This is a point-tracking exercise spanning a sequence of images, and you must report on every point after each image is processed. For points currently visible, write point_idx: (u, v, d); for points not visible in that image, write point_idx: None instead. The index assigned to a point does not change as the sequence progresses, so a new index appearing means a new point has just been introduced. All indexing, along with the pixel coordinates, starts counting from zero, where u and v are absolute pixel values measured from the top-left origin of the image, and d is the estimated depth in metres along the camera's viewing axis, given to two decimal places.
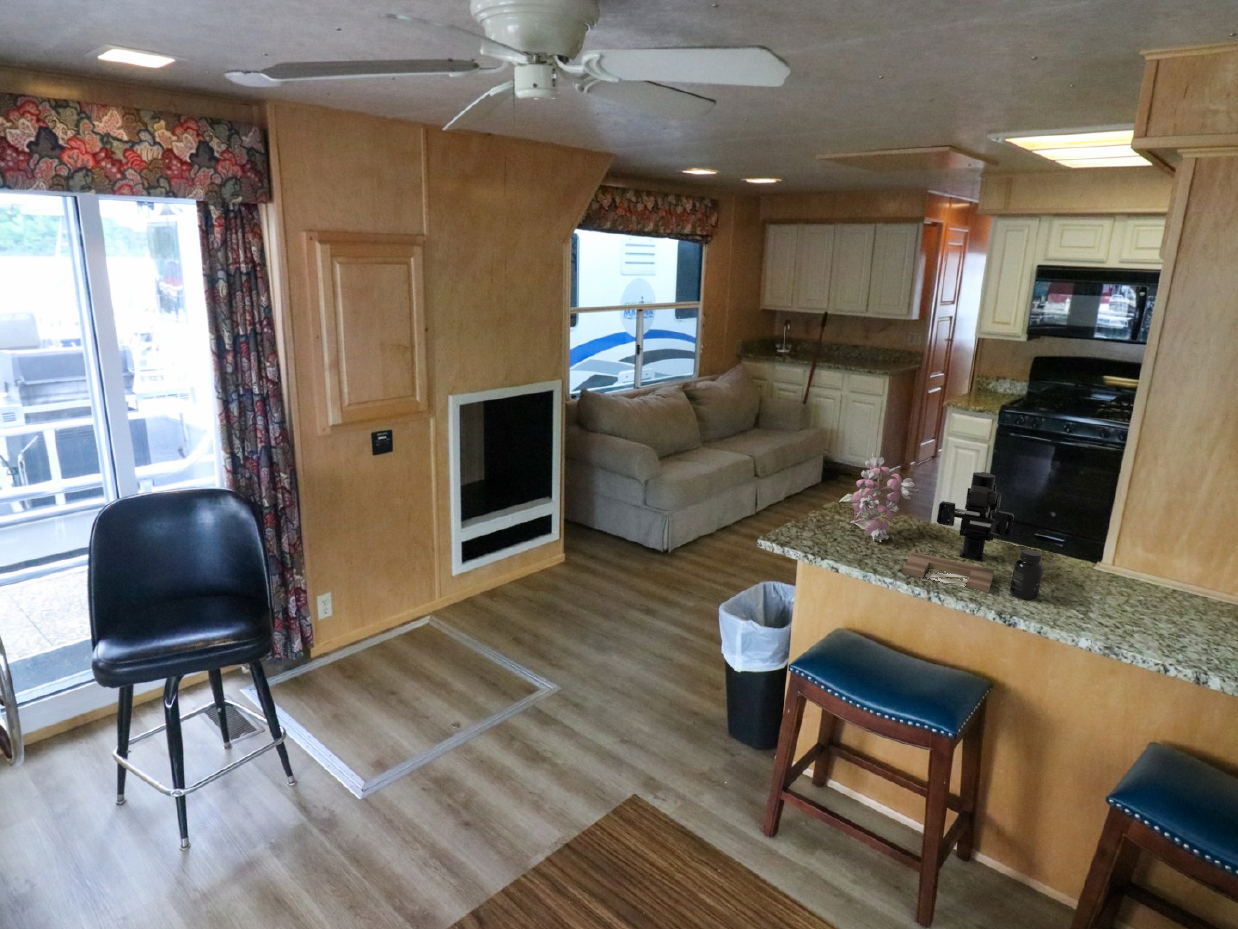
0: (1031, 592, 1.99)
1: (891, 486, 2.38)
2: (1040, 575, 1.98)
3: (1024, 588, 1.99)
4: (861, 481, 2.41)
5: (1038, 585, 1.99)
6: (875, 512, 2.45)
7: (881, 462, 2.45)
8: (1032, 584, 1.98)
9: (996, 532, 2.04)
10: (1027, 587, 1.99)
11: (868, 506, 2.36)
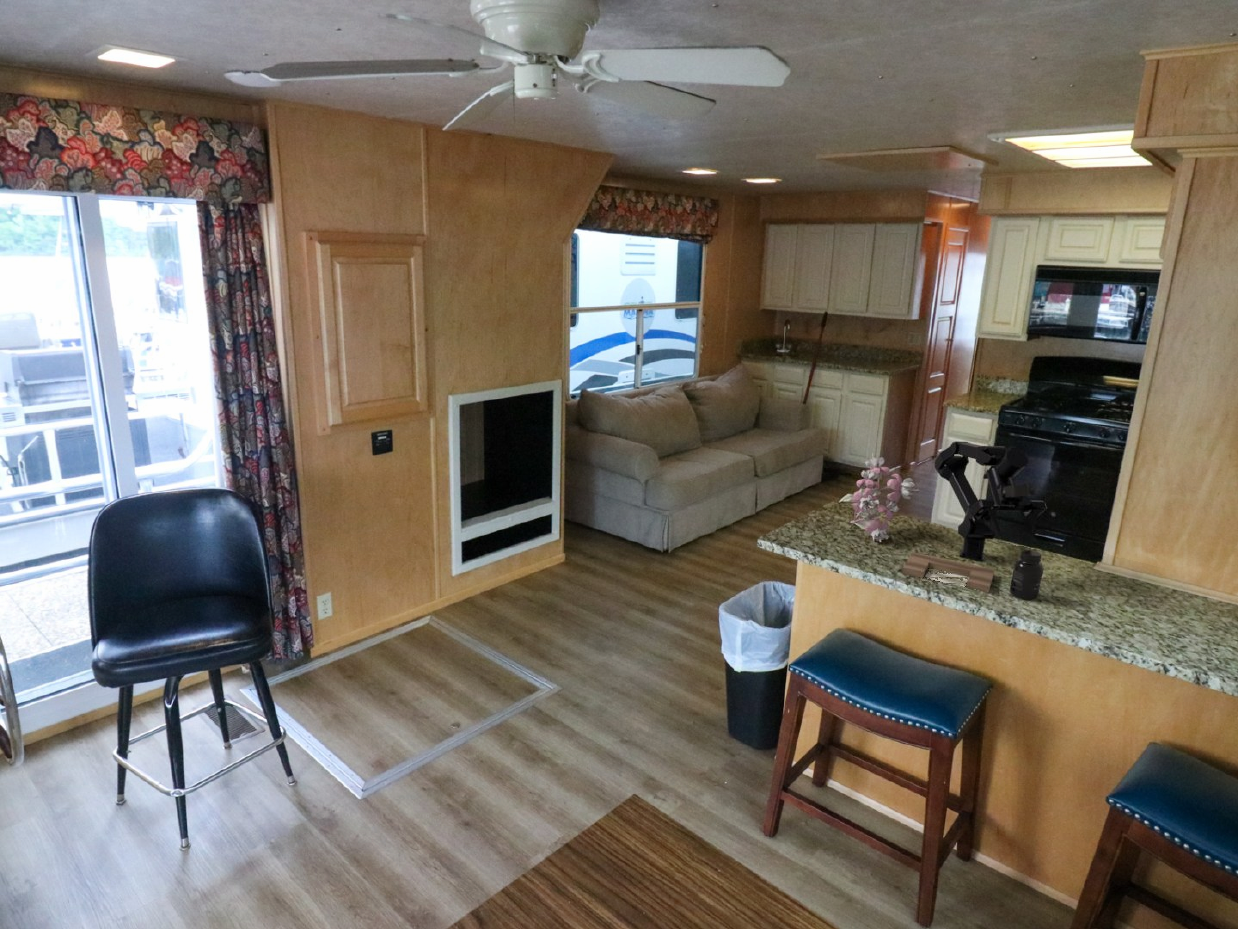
0: (1031, 592, 1.99)
1: (891, 486, 2.38)
2: (1040, 575, 1.98)
3: (1024, 588, 1.99)
4: (861, 481, 2.41)
5: (1038, 585, 1.99)
6: (875, 512, 2.45)
7: (881, 462, 2.45)
8: (1032, 584, 1.98)
9: None
10: (1027, 587, 1.99)
11: (868, 506, 2.36)
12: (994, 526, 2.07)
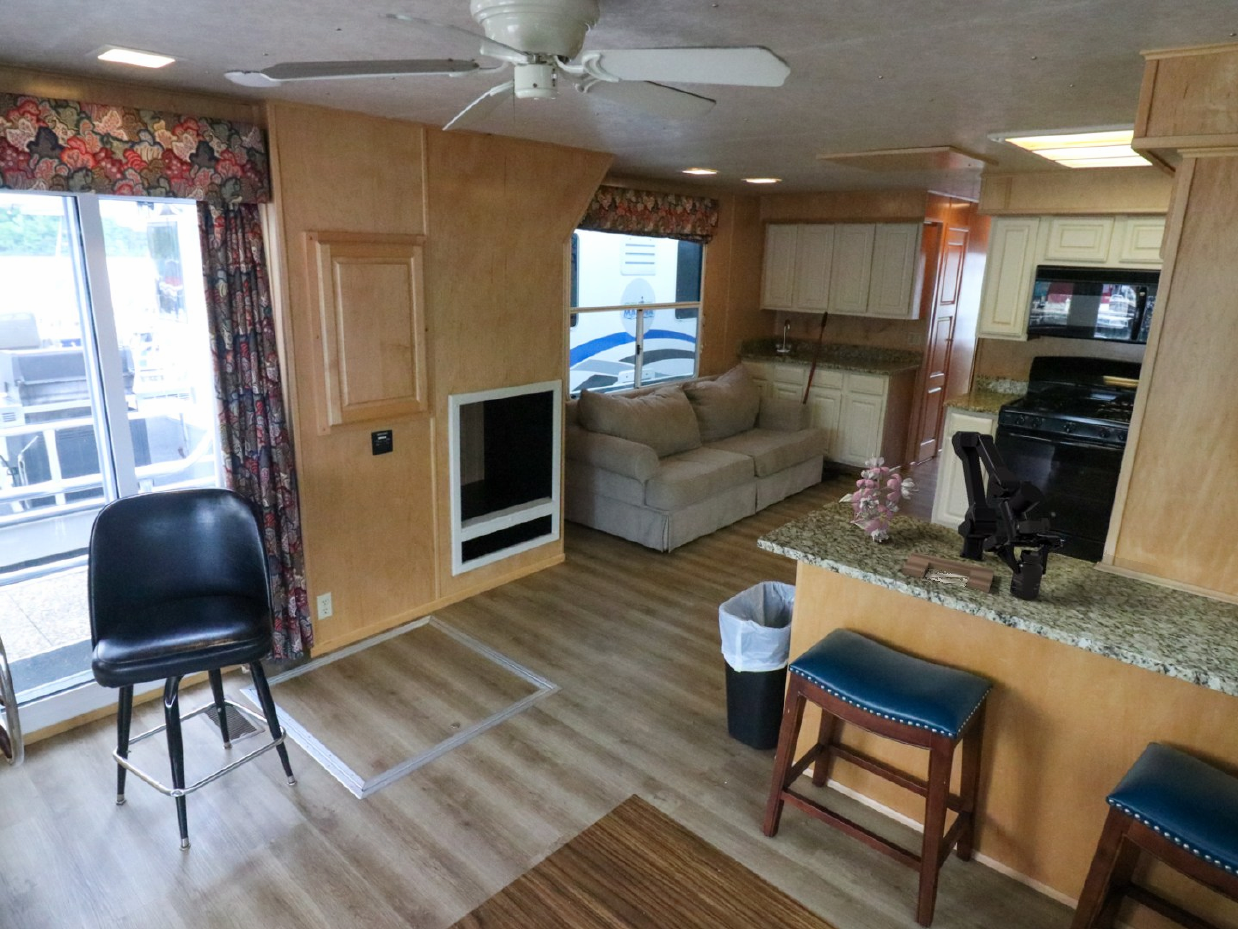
0: (1031, 592, 1.99)
1: (891, 486, 2.38)
2: (1040, 575, 1.98)
3: (1024, 588, 1.99)
4: (861, 481, 2.41)
5: (1038, 585, 1.99)
6: (875, 512, 2.45)
7: (881, 462, 2.45)
8: (1032, 584, 1.98)
9: None
10: (1027, 587, 1.99)
11: (868, 506, 2.36)
12: (1012, 563, 2.00)
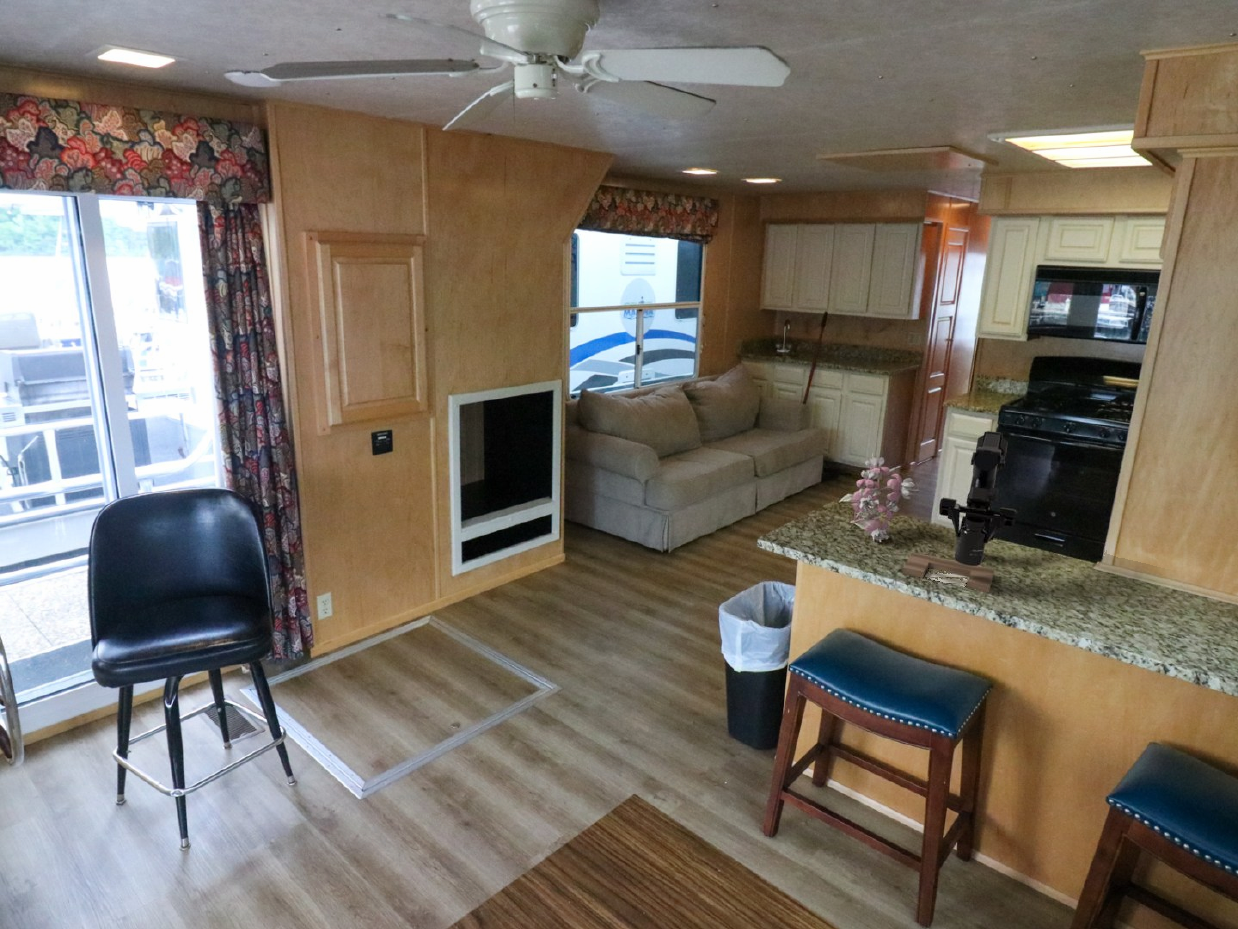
0: (967, 557, 2.03)
1: (891, 486, 2.38)
2: (977, 542, 2.01)
3: (960, 552, 2.04)
4: (861, 481, 2.41)
5: (975, 552, 2.02)
6: (875, 512, 2.45)
7: (881, 462, 2.45)
8: (967, 549, 2.02)
9: (994, 532, 2.04)
10: (963, 552, 2.03)
11: (868, 506, 2.36)
12: (955, 526, 2.06)
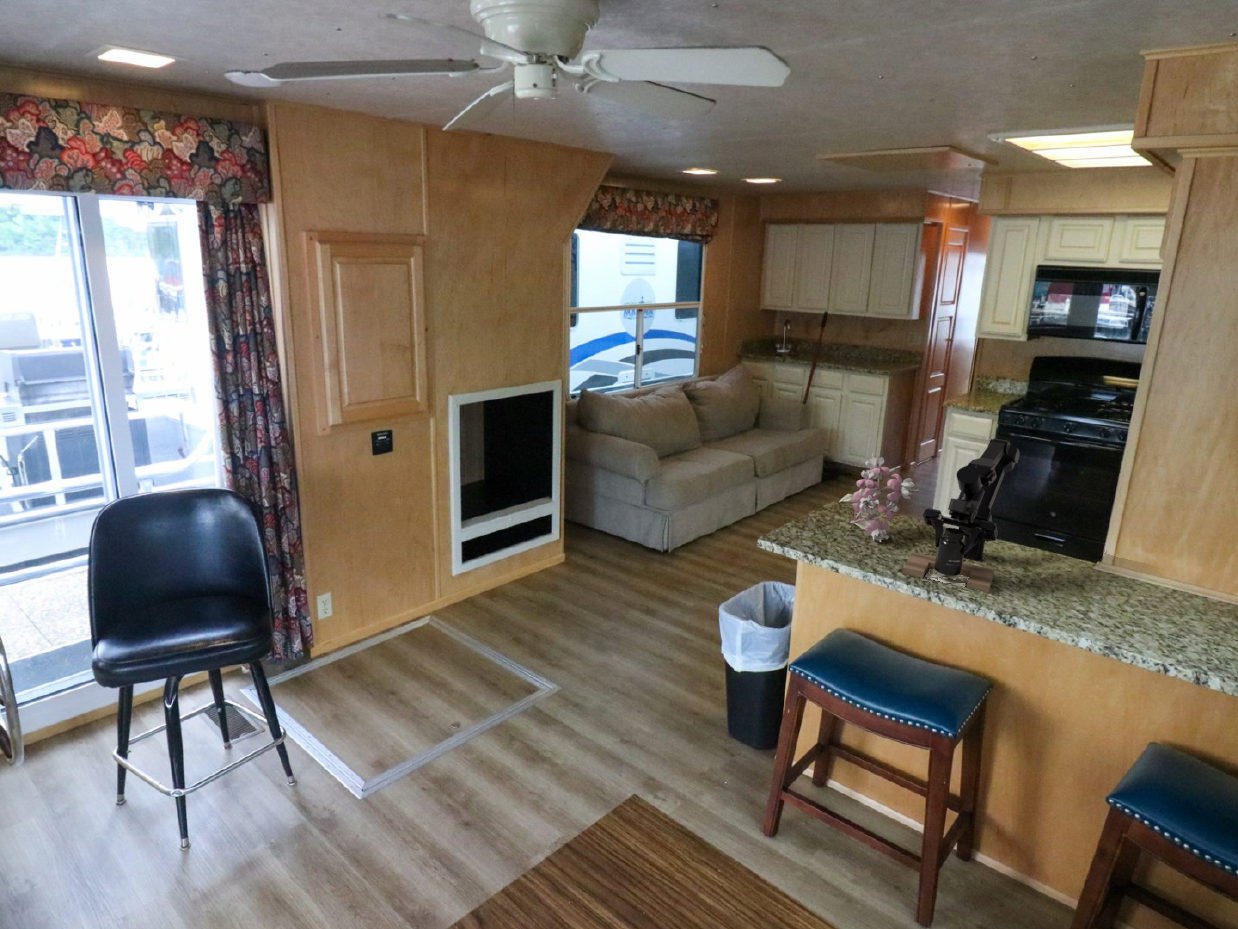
0: (944, 567, 2.08)
1: (891, 486, 2.38)
2: (953, 552, 2.06)
3: (938, 561, 2.09)
4: (861, 481, 2.41)
5: (952, 562, 2.07)
6: (875, 512, 2.45)
7: (881, 462, 2.45)
8: (944, 559, 2.07)
9: (974, 545, 2.07)
10: (940, 561, 2.08)
11: (868, 506, 2.36)
12: None
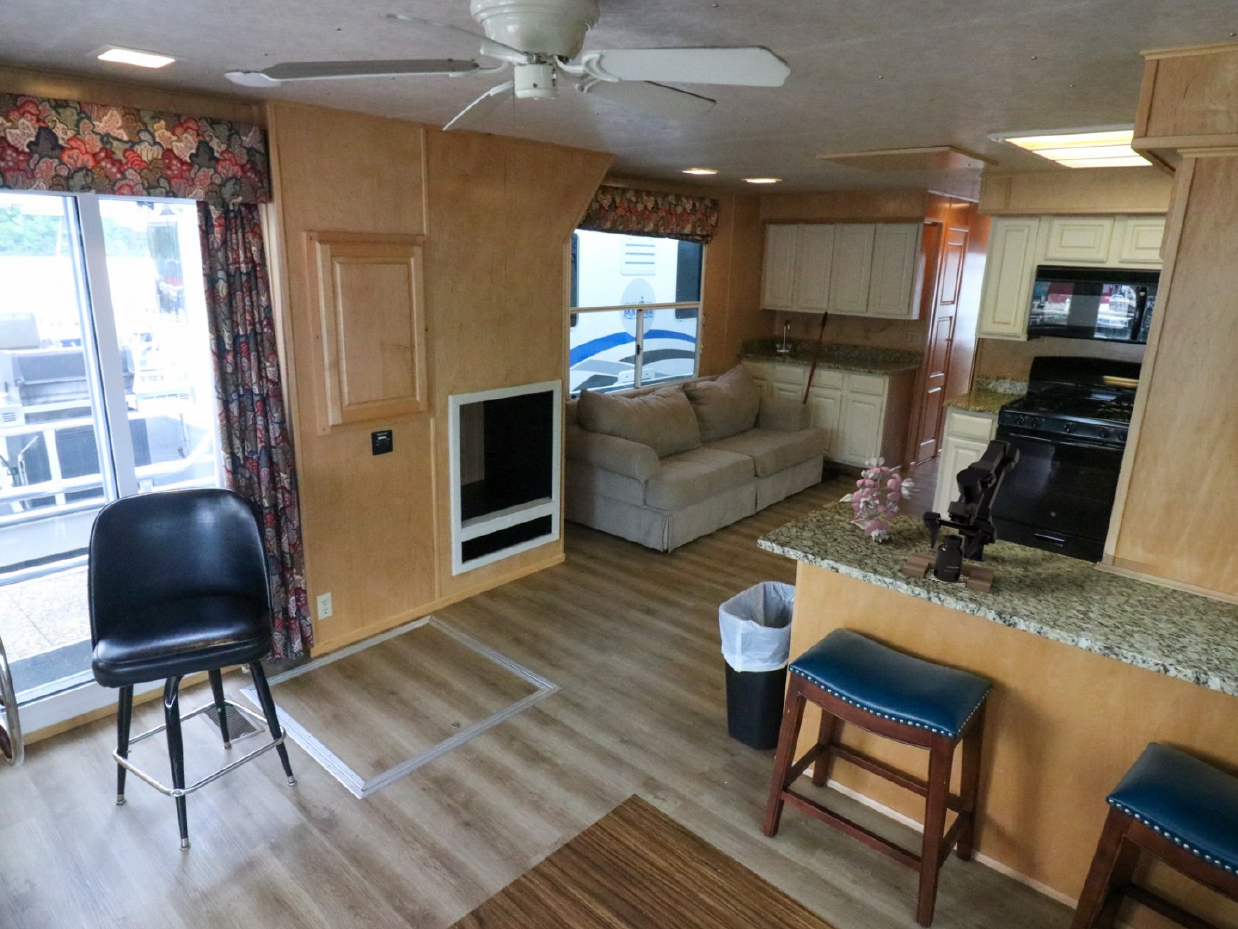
0: (942, 573, 2.08)
1: (891, 486, 2.38)
2: (952, 558, 2.06)
3: (937, 567, 2.10)
4: (861, 481, 2.41)
5: (950, 568, 2.07)
6: (875, 512, 2.45)
7: (881, 462, 2.45)
8: (943, 565, 2.08)
9: (977, 548, 2.07)
10: (939, 567, 2.09)
11: (868, 506, 2.36)
12: (931, 538, 2.12)
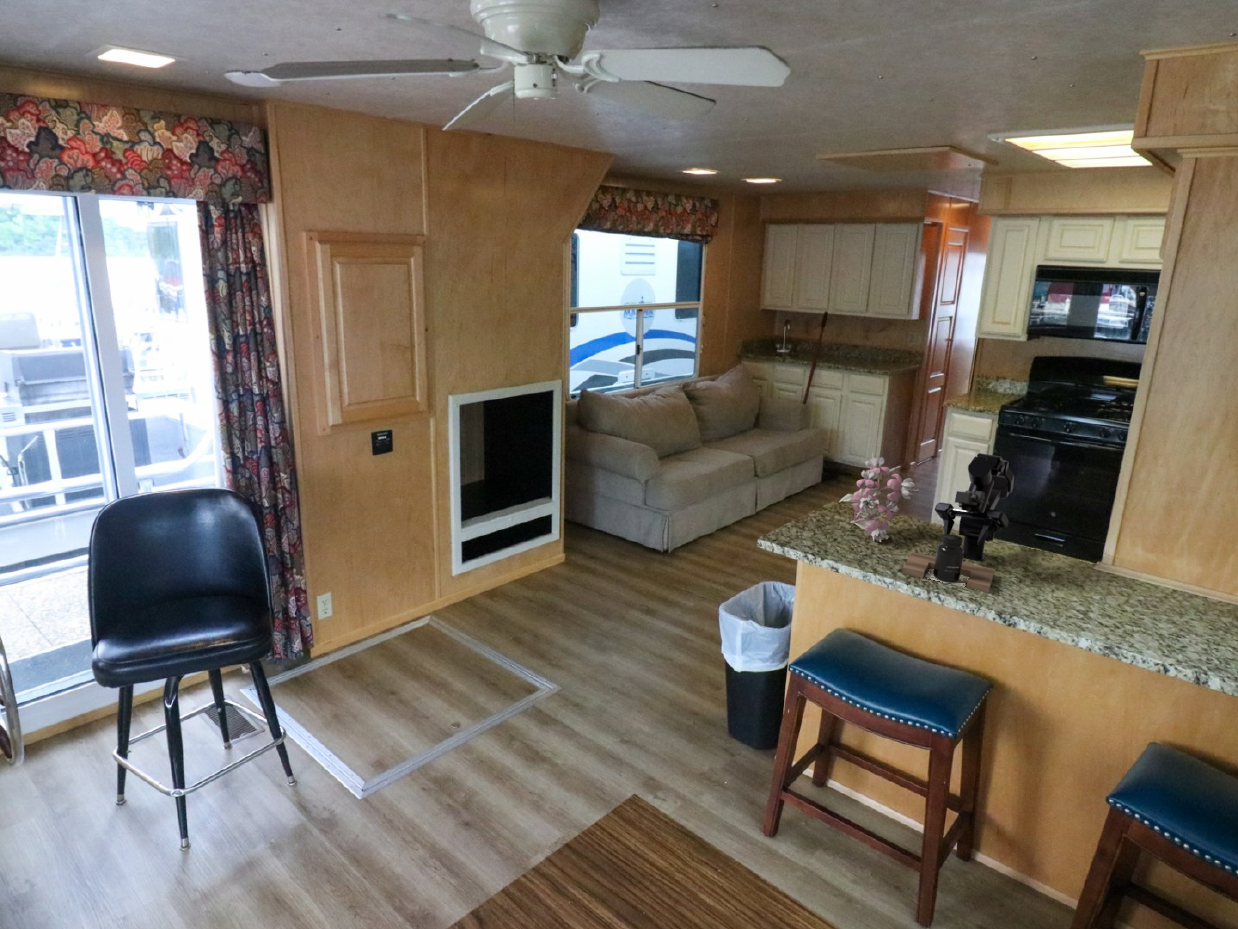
0: (942, 573, 2.08)
1: (891, 486, 2.38)
2: (952, 558, 2.06)
3: (936, 567, 2.10)
4: (861, 481, 2.41)
5: (950, 568, 2.07)
6: (875, 512, 2.45)
7: (881, 462, 2.45)
8: (943, 565, 2.08)
9: (989, 534, 2.13)
10: (939, 567, 2.09)
11: (868, 506, 2.36)
12: None
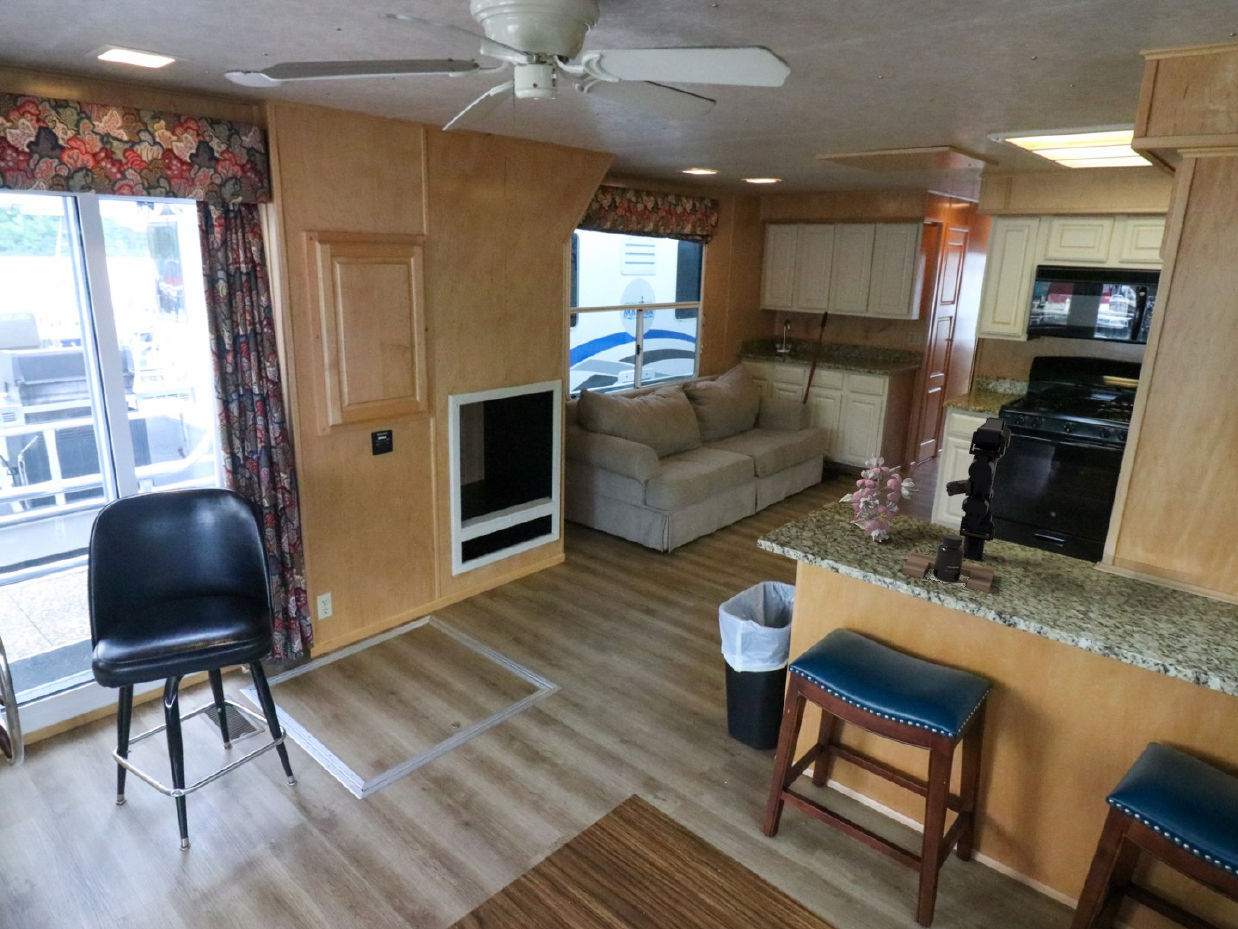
0: (942, 573, 2.08)
1: (891, 486, 2.38)
2: (952, 558, 2.06)
3: (936, 567, 2.10)
4: (861, 481, 2.41)
5: (950, 568, 2.07)
6: (875, 512, 2.45)
7: (881, 462, 2.45)
8: (943, 565, 2.08)
9: (979, 521, 2.07)
10: (939, 567, 2.09)
11: (868, 506, 2.36)
12: None
